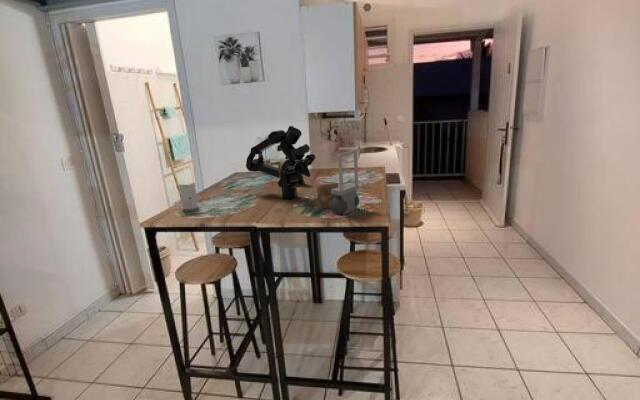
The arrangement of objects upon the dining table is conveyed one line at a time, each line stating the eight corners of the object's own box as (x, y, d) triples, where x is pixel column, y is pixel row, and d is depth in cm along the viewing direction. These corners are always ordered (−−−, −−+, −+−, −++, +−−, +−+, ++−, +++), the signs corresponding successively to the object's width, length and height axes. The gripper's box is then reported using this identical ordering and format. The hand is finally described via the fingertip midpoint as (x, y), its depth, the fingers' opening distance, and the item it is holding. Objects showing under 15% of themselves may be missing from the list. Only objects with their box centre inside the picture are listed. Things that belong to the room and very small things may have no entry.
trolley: (330, 213, 141) (326, 153, 134) (346, 206, 149) (343, 149, 143) (344, 216, 137) (340, 154, 130) (360, 208, 145) (358, 149, 138)
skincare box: (182, 209, 162) (177, 184, 159) (188, 206, 166) (184, 182, 163) (193, 209, 160) (188, 184, 157) (199, 206, 164) (195, 182, 161)
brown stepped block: (309, 205, 155) (308, 185, 152) (323, 199, 162) (322, 181, 160) (338, 210, 145) (336, 189, 142) (351, 204, 152) (350, 184, 149)
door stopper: (295, 187, 190) (293, 165, 187) (286, 186, 193) (284, 165, 190) (305, 183, 197) (303, 162, 194) (296, 182, 200) (294, 162, 197)
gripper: (282, 141, 149) (303, 168, 145) (311, 136, 163) (331, 161, 159) (272, 159, 156) (292, 185, 152) (300, 152, 170) (319, 176, 166)
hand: (309, 176), depth 157 cm, fingers closed
